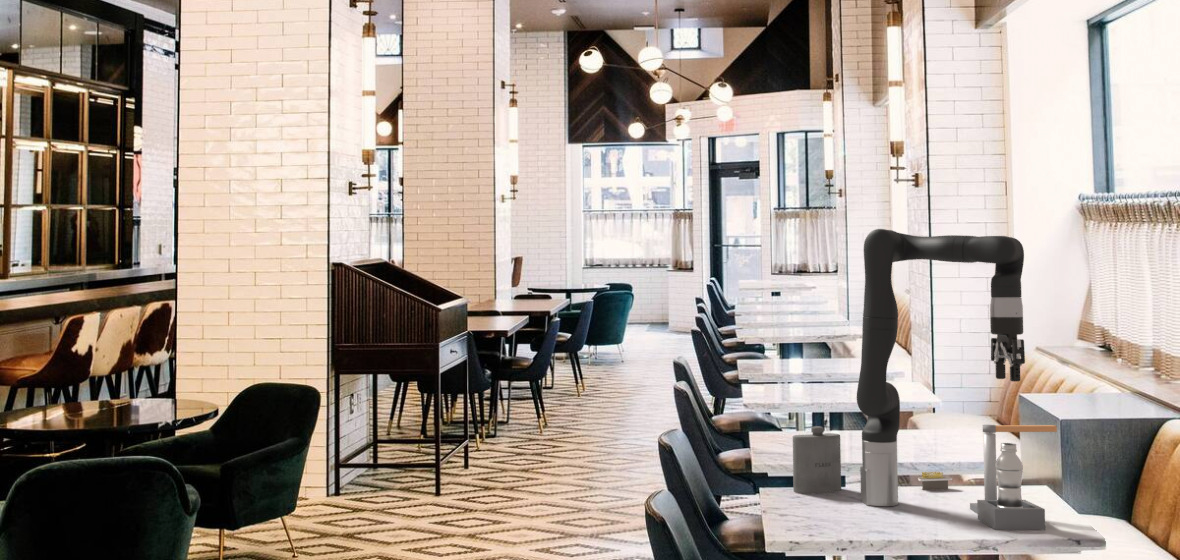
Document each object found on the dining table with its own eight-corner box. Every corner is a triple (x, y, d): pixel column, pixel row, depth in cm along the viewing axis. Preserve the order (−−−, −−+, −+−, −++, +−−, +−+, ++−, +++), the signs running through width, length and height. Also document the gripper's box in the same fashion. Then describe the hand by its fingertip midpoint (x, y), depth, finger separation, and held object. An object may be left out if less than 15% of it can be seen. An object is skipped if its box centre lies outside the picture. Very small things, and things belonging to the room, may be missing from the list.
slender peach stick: (1052, 431, 242) (1052, 424, 242) (1058, 432, 238) (1057, 425, 238) (980, 431, 242) (980, 424, 243) (985, 432, 239) (985, 426, 239)
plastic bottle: (1022, 522, 230) (1020, 442, 231) (1026, 528, 224) (1024, 446, 225) (995, 520, 233) (993, 441, 233) (997, 526, 226) (995, 445, 227)
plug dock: (995, 529, 223) (993, 443, 224) (962, 510, 244) (960, 431, 245) (1045, 529, 222) (1043, 443, 223) (1007, 510, 244) (1006, 431, 245)
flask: (800, 499, 260) (799, 429, 261) (790, 495, 266) (789, 426, 267) (846, 496, 265) (845, 426, 266) (835, 492, 270) (834, 424, 271)
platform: (895, 492, 272) (894, 469, 272) (951, 489, 275) (951, 467, 275) (915, 500, 260) (914, 477, 261) (973, 497, 263) (973, 474, 263)
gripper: (1034, 315, 223) (1036, 382, 222) (1009, 315, 237) (1010, 377, 237) (1003, 315, 223) (1004, 382, 223) (980, 315, 237) (981, 378, 237)
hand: (1007, 380), depth 230 cm, fingers open, 8 cm apart
